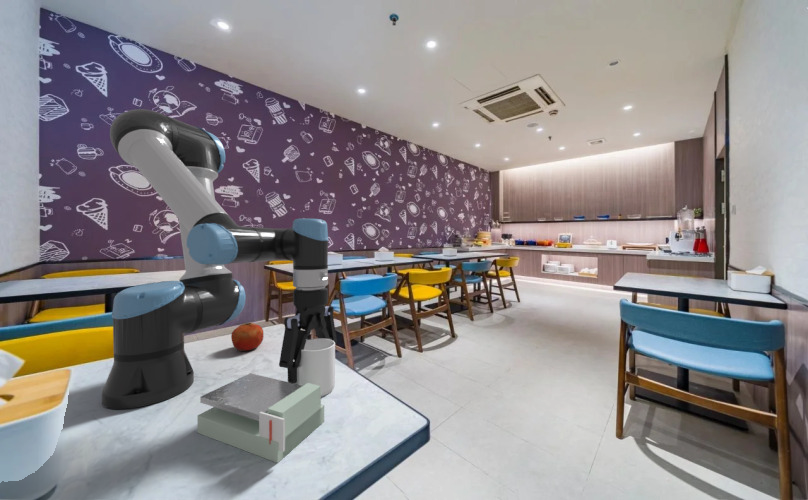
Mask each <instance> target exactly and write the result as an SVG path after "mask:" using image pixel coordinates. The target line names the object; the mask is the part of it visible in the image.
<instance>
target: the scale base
mask: <svg viewBox="0 0 808 500" xmlns="http://www.w3.org/2000/svg"><path fill="white" fill-rule="evenodd" d="M321 403H322V398H321V386H318V385H314V384H309V383H307V384H305V385H304V386H302V387H301V388H299V389H297V390H296V391H294V392H293V393H291V394H290V395H288V396H287V397H285V398H283V399H282V400H280V401H279V402H277V403H276V404H274V405H273V406H271V407H269V408H268V414H267V413H264V412H259V421H257V420H254V419H251V418H247V417H244V416H241V415H238V414H235V413H232V412H229V411H225V410H222V409H219V408H216V407H213V406H212V407H211V408H209V409H207V410H205V411H204V412H201V413H199V414H198V415H197V434H200V435H203V436H205V437H208V438H210V439H213V440H215V441H218V442H220V443H224V444H226V445H229V446H232V447H234V448H236V449H239V450H242V451H245V452H248V453H250V454H252V455H255V456H258V457H261V458H263V459H266V460H268V461H271V462H274V463H276V464H278V463H280V462H281V461H282V460H283V459H284V458H286V457H287V455H288V454H290V453H291V452H292V451H293V450H294V449H295V448H296V447H297V446H299V445H300V444H301V443H302V442H303V441H304V440H305V439H306V438H308V437H309V436H310V435H311V434H312V433H313V432H315V431H316V430H317V429H318V428H319V427H320V426H321V425H322V424H323V423H324V422H325V405H324V404H321Z"/></svg>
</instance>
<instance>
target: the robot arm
mask: <svg viewBox="0 0 808 500" xmlns="http://www.w3.org/2000/svg"><path fill="white" fill-rule="evenodd" d="M109 137H110V138H109V139H110V142H111V144H112V147H113V148H114V150H115V152H116V153H117V154H118V155H119V156H120V157H121V159H122V160H123V161H124V162H125V163H127V164H128V165H130V166H133V167H135V168H136V169H137V170H138V171H139V172H140V174H142V177H144V179H145V180H146V181H147V182H148V183H149V184H150V186H151V187H152V188H153V189H154V191H155V192H156V193H157V194H158V196H159V197H160V198H161V199H162V201H163V202H164V203H165V204H166V205H167V207H168V208H169V209H170V210H171V211H172V213H173V214H174V215H175V216H176V218H177V219H178V225H179V232H180V233H179V234H180V239H181V246H182V253H183V261H184V267H185V268H184V270H185V272H184V274H183V275H181V277H180V278H179V279H178V280H163V281H158V282H155V281H154V282H148V283H144V284H139V285H134V286H131V287H128V288H125V289H123V290H120V291H119V292H118V293H117V294H116V295H115V296H114V299H113V304H112V312H111V317H112V329H113V330H112V337H113V339H112V340H113V341H112V342H113V363H112V367H111V368H110V371H109V374H108V377H107V379H106V382H105V384H104V387H103V389H102V393H101V404H102V406H103V407H105V408H106V409H112V410H129V409H136V408H141V407H145V406H149V405H153V404H157V403H160V402H163V401H167V400H169V399H171V398H173V397H176V396H178V395H180V394H182V393H183V392H185V391H186V390H188V389H190V387H192V385H194V381H195V380H194V379H195V375H194V374H195V373H194V372H195V371H194V369H193V367H192V364H191V362H190V360H189V357H188V355H187V353H186V351H185V335H188V334H191V333H194V332H199V331H202V330H205V329H209V328H212V327H217V326H222V325H224V324H226V323H229V322H232V321H234V320H235V319H237V318H238V317H239V316H240V314H241V313H242V311H243V310H244V307H245V306H246V305H245V304H246V300H247V299H246V291H245V288H244V286H243V285H242V284H241V282H240V281H239V280H237V279H234V278H233V277H234V276H233V271H231V270H230V269H229V268H227V267H225V265H227V264H228V265H229V264H241V263H255V262H257V263H258V262H270V261H271V262H272V261H273V262H274V261H279V262H280V261H287V262H288V261H289V262H290V261H291V262H292V286H293V287H294V290H293V291H292V293H293V294H292V297H293V299H292V302H293V303H292V304H293V306H294V307H295V309H296V310H295V314H294V316H291V317H285V318H284V320H283V321H284V323H283V324H284V333H283V339H282V344H281V345H282V346H281V351H280V357H279V363H278V367H280V368H283V369H287V382H290V383H294V384H298V385H302V366H299V363H300V360H301V350H304V347H305V343H306V340H308V337H309V336H310V335H311V332H312V330H314V331H315V334H316V337H317V338H325V339H331V340H333V341H334V342H335V345H337V343H338V339H337V333H336V332H337V331H336V325H335V321H334V306H328V305H327V304H328V303H329V289H328V288H327V286H328V285H329V276H328V275H329V273H328V272H329V270H328V269H329V264H328V263H329V262H328V259H329V256H328V255H329V253H328V251H329V240H330V239H329V232H328V231H329V230H328V223H327V221H326V220H324V219H319V218H306V217H305V218H296V219H294V220H293V222H292V227H291V228H270V227H258V226H257V227H254V226H246V225H245V226H244V225H243V226H242V225H238V224H237V223H236V222H235V220H233V218H232V217H231V216H230V215H229V214H228V213H227V212H226V211H225V210H224V208H223V207H222V206H221V205H220V203H218V202H217V200H216V197H215V189H214V183H213V182H214V181H215V180H217V179H218V177H219V173H221V171H223V169H224V166H225V165H224V164H225V163H226V152H225V148H224V145H223V143H222V142H221V140H220V139H219V138H218V136H216V135H215V134H213V133H211V132H209V131H207V130H205V129H204V128H202V127H199V126H194V125H191V124H189V123H185V122H183V121H181V120H178V119H176V118H173V117H170V116H168V115H165V114H163V113H161V112H158V111H155V110H150V109H145V108H144V109H143V108H141V109H140V108H139V109H130V110H126V111H124V112H122V113H120V114H119V115H117V116H116V117H115V119H114V120H113V121H112V123H111V124H110V128H109ZM326 305H327V306H326Z"/></svg>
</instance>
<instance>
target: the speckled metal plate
mask: <svg viewBox="0 0 808 500" xmlns="http://www.w3.org/2000/svg"><path fill="white" fill-rule="evenodd" d="M301 387H302V385H298V384H294V383H290V382H288V381H284V380H280V379H276V378H272V377H268V376H263V375H259V374H254V373H248V374H246V375H244V376H241V377H239V378H237V379H235V380H233V381H231V382H229V383H226V384H224V385H223V386H220V387H218V388H216V389H214V390H212V391H209V392H208V393H205V394H203V395H201V396H200V398H199V400H200V404H203V405H207V406H210V407H212V408H213V407H216V408H219V409H222V410H225V411H229V412H232V413H235V414H238V415H241V416H244V417H247V418H251V419H254V420H257V421H259V412H264V413H267V414H268V408H269V407H271V406H273V405H274V404H276V403H277V402H279V401H280V400H282V399H283V398H285V397H287V396H288V395H290V394H291V393H293V392H294V391H296V390H297V389H299V388H301Z"/></svg>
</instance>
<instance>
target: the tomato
mask: <svg viewBox="0 0 808 500" xmlns="http://www.w3.org/2000/svg"><path fill="white" fill-rule="evenodd" d="M263 341H264V329H263V328H262V326H261V325H259V324H256V323H253V322H244V323H242V324H240V325H239V326H237V327H236V328H235V329H233V331H232V332H231V342H232V345H233V347H234V348H235V349H236V350H238V351H240V352H243V351H246V352H248V351H250V350H254V349H257V348H258V347H259V346H260V345H261V344H262V343H263Z"/></svg>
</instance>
